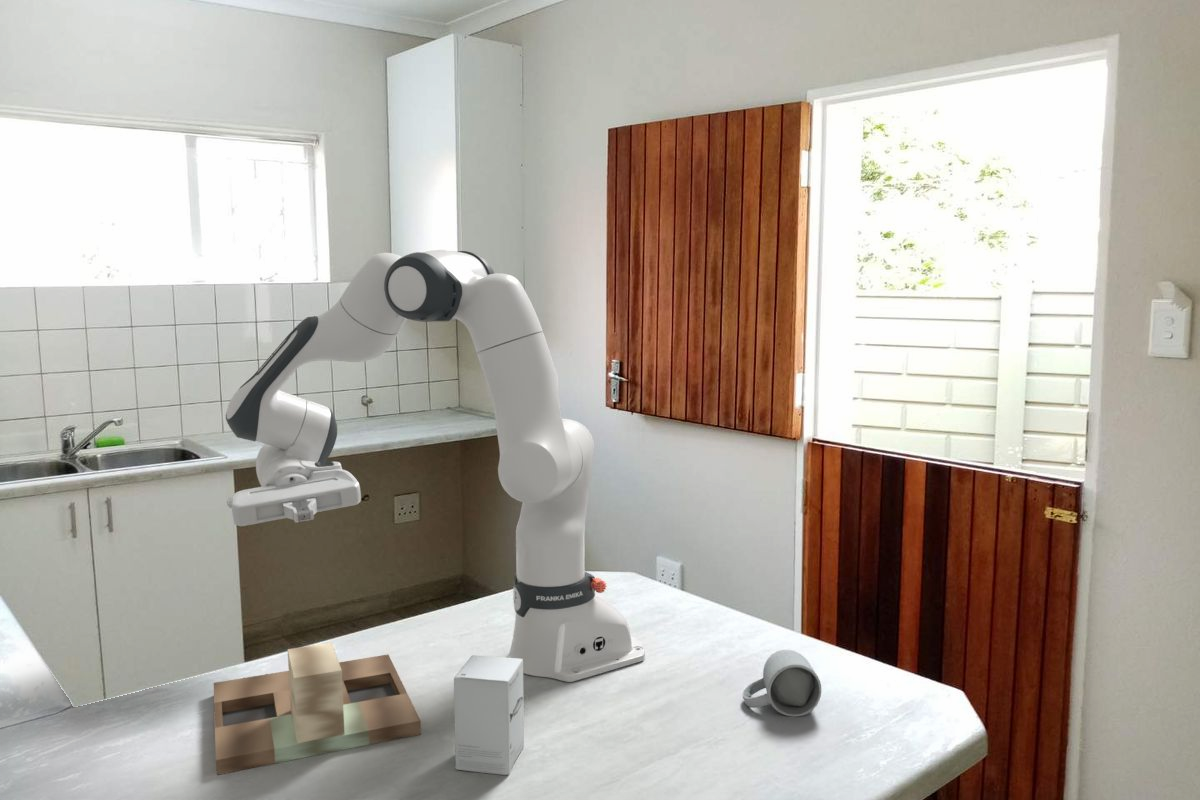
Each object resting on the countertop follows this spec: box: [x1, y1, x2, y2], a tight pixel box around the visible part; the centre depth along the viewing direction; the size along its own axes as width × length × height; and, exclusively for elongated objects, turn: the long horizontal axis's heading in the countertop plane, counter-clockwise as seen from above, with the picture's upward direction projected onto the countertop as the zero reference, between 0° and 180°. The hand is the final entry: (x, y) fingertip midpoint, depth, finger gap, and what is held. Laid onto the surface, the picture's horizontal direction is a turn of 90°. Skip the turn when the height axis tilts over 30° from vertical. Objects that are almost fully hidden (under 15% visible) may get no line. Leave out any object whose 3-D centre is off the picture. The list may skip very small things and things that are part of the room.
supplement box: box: [453, 654, 525, 776], centre depth 120 cm, size 7×7×13 cm
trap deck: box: [213, 654, 422, 776], centre depth 133 cm, size 26×24×2 cm
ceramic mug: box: [742, 649, 822, 718], centre depth 135 cm, size 11×8×8 cm
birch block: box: [287, 642, 344, 743], centre depth 126 cm, size 6×10×9 cm, turn 23°
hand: (304, 516), depth 146 cm, fingers closed
